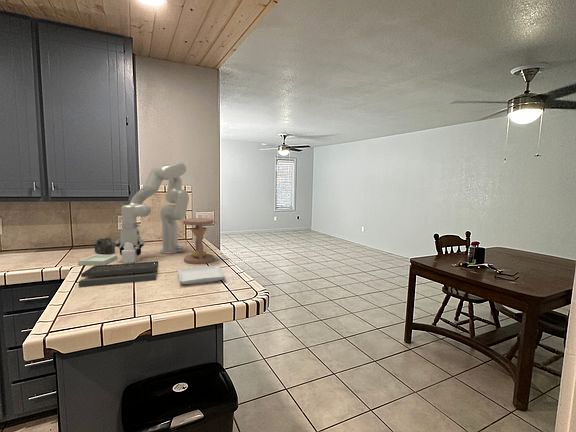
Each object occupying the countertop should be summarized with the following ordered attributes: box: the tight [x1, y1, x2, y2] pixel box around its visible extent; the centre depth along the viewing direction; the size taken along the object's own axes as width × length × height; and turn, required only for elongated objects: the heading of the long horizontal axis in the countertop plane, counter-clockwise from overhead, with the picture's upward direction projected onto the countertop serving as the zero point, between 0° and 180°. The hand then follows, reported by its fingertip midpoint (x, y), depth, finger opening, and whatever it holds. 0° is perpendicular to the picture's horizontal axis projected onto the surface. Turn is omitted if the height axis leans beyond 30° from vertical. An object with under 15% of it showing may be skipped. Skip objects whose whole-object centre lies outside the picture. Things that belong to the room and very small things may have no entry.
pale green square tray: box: [77, 254, 118, 266], centre depth 174 cm, size 14×14×2 cm
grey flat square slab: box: [177, 265, 226, 285], centre depth 150 cm, size 21×21×3 cm
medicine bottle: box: [121, 242, 140, 264], centre depth 177 cm, size 7×7×12 cm
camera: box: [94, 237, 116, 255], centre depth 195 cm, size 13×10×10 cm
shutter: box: [78, 260, 159, 288], centre depth 154 cm, size 32×7×31 cm
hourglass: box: [182, 217, 215, 265], centre depth 182 cm, size 18×18×25 cm
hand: (130, 254), depth 177 cm, fingers open, 9 cm apart
